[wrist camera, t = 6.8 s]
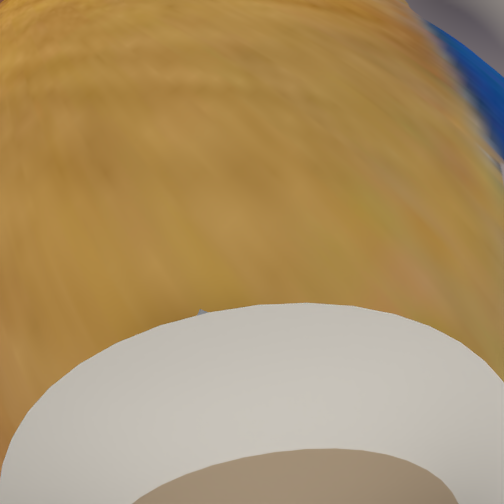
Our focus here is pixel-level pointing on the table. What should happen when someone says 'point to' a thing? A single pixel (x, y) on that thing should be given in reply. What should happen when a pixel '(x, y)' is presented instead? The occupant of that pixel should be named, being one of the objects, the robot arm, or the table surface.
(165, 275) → the table surface
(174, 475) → the paper towel roll
